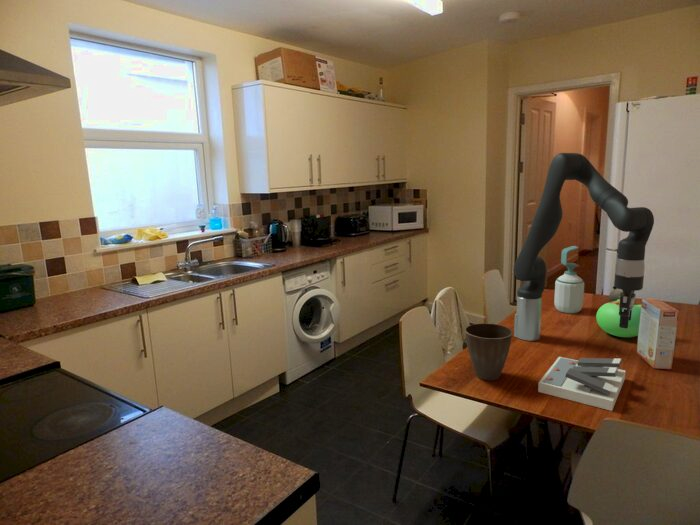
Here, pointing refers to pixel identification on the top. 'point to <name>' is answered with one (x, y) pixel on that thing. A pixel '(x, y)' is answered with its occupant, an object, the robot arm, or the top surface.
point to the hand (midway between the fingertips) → (625, 323)
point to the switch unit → (579, 385)
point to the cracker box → (657, 333)
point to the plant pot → (488, 348)
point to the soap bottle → (569, 287)
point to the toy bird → (618, 320)
